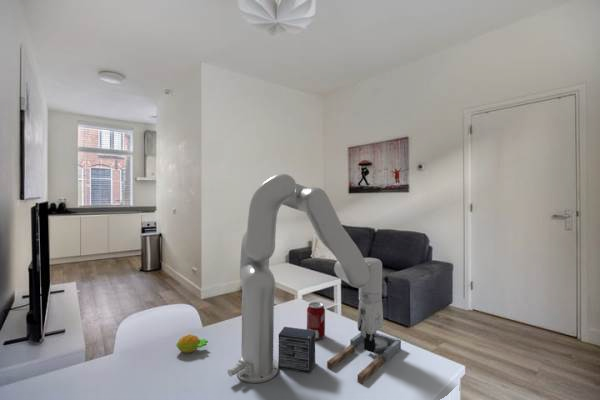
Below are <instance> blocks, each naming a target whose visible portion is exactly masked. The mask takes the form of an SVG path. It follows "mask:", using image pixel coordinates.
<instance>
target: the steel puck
mask: <svg viewBox="0 0 600 400" xmlns="http://www.w3.org/2000/svg"><path fill="white" fill-rule="evenodd" d="M374 339H375V350H374V351H373V352H372V353H373V354H379V355H380V354H383V355H384V351H385V350H386V349H387V348H388V341H387V340H386V339H385V338H383V337H381V336H376V337H375V338H374Z"/></svg>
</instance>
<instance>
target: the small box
mask: <svg viewBox="0 0 600 400" xmlns="http://www.w3.org/2000/svg"><path fill="white" fill-rule="evenodd" d="M315 365H316V340H315V331H314V330H307V328H306V329H305V328H298V327H290V326H283V328H282V330H281V331H280V332H279V333H278V369H284V370H287V371H288V370H289V371H293V372H294V371H295V372H301V373H307V374H311V373H312V371H313V369H314V367H315Z"/></svg>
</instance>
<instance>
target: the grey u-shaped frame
mask: <svg viewBox="0 0 600 400" xmlns="http://www.w3.org/2000/svg"><path fill="white" fill-rule="evenodd" d="M360 334H361V332H359V333H358V334H356V335H354V337H352V338H351V339H350V342H349V343H350V344H351V345H354V346H355V349H357V347H359V346H360V345H361V344H364V338H362V337H360ZM376 336H381V337H383V338H385V339H386V340H387V341H388V348H387V349H386V350H385V351H384V353H383V357H384V363H388V362H389V361H390V360H392V358H393V357H395V355H396V354H397V353H398V352H399V351H400V350H401V349H402V347H401V345H402V342H401V341H402V340H401V339H397V338H395V337H391V336H390V335H389V336H388V335H385V334H383V333H380V332H377V331H376ZM350 344H349V345H350Z"/></svg>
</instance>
